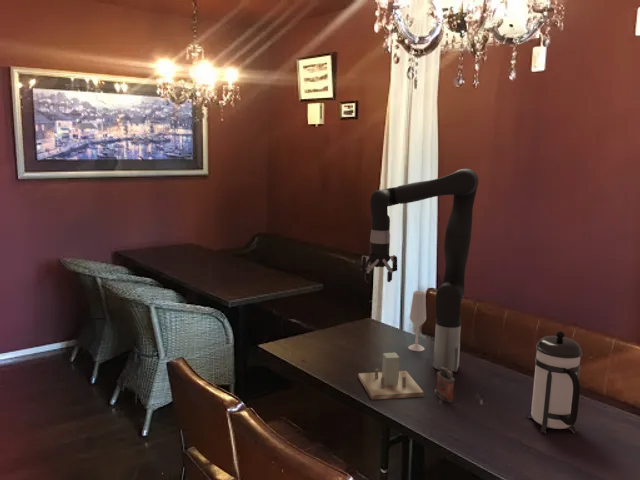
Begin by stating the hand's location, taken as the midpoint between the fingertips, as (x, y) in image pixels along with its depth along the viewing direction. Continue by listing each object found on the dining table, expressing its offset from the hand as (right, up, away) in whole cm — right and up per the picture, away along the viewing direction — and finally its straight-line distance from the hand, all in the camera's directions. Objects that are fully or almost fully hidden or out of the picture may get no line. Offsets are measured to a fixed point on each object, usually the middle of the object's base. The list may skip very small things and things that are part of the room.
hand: (378, 281), depth 221 cm
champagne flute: (+17, -29, +14) cm, 36 cm away
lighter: (+19, -37, -31) cm, 52 cm away
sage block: (+2, -33, -24) cm, 41 cm away
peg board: (+2, -35, -24) cm, 42 cm away
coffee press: (+48, -41, -50) cm, 80 cm away
